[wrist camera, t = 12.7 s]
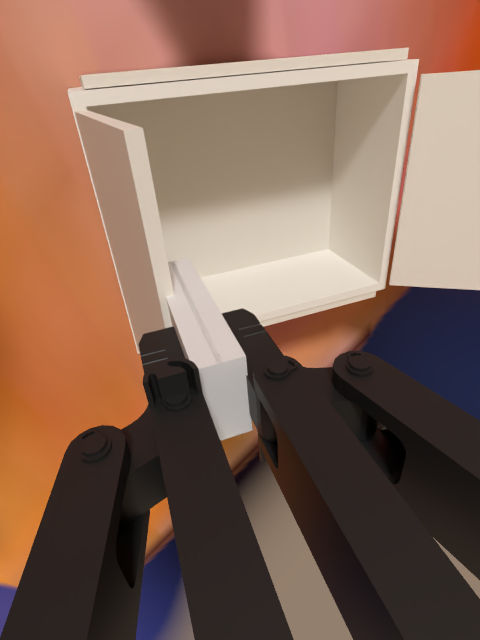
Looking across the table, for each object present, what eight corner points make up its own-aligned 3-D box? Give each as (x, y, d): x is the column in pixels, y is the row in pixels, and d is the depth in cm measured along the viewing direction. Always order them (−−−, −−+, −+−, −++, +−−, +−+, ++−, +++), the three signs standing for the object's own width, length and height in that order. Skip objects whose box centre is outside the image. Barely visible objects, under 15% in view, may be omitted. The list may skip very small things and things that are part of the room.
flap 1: (142, 128, 10) (123, 130, 10) (203, 452, 17) (192, 457, 17) (86, 110, 17) (74, 111, 16) (146, 347, 24) (138, 350, 23)
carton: (126, 304, 31) (140, 360, 25) (65, 76, 22) (63, 76, 16) (330, 257, 35) (384, 295, 29) (342, 53, 27) (421, 46, 21)
